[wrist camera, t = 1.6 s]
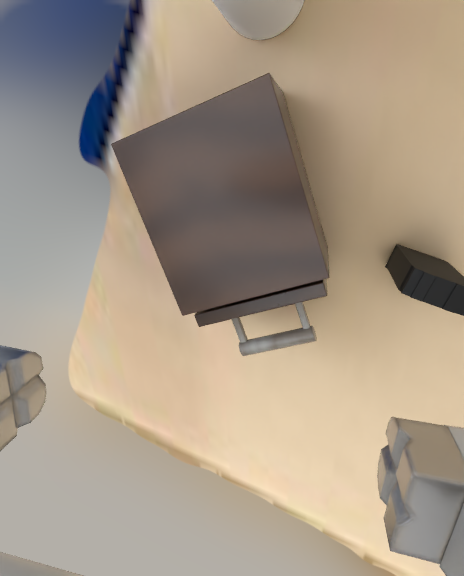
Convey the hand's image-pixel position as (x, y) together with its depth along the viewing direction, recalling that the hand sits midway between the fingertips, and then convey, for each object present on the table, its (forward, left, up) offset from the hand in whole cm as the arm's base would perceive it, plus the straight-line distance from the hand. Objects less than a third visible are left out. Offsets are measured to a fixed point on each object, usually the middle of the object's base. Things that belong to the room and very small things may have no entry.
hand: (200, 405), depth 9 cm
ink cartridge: (-9, +8, -30) cm, 33 cm away
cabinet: (+4, -3, -30) cm, 30 cm away
